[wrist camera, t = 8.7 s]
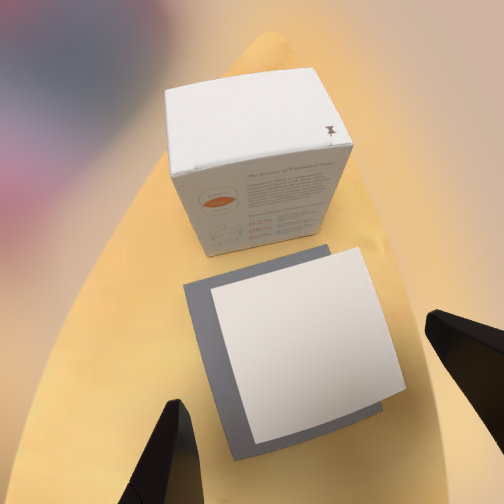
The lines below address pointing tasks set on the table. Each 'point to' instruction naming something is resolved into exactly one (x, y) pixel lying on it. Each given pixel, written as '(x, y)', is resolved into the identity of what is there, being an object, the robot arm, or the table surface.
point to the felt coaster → (222, 370)
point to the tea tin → (307, 344)
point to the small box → (255, 156)
